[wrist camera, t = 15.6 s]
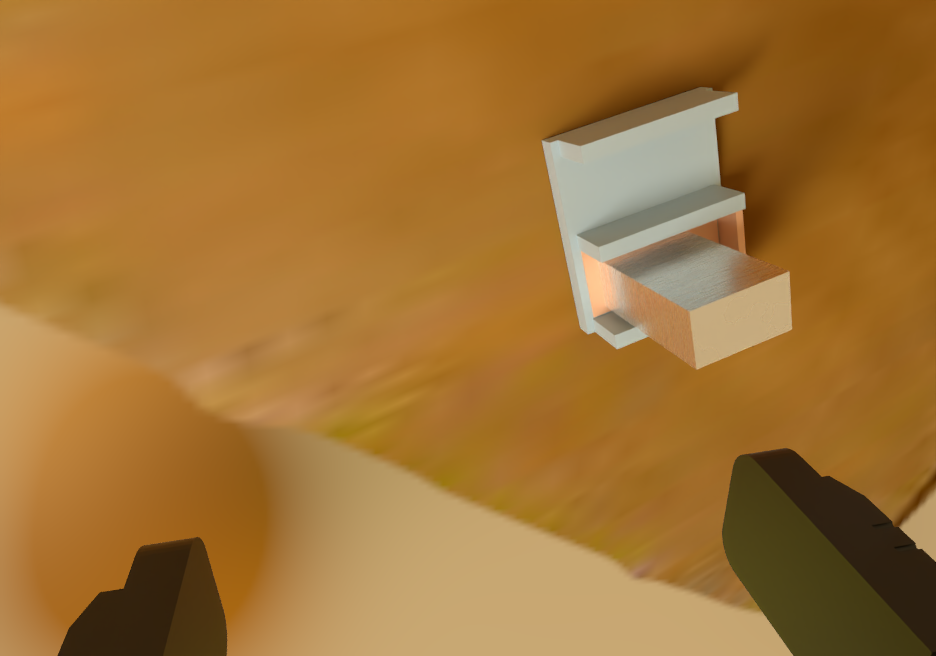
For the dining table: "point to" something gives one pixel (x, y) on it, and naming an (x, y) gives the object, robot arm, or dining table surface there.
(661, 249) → the panel
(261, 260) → the dining table surface
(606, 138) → the slot rack
